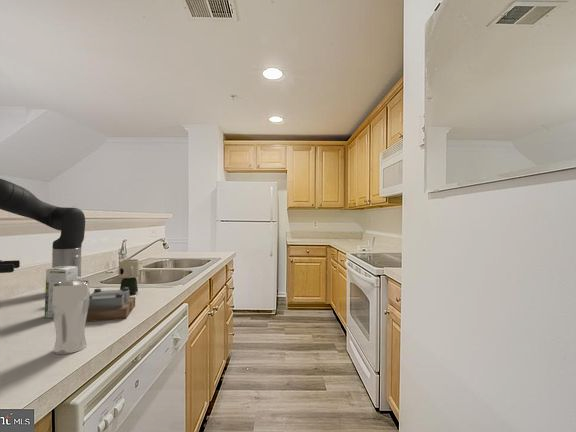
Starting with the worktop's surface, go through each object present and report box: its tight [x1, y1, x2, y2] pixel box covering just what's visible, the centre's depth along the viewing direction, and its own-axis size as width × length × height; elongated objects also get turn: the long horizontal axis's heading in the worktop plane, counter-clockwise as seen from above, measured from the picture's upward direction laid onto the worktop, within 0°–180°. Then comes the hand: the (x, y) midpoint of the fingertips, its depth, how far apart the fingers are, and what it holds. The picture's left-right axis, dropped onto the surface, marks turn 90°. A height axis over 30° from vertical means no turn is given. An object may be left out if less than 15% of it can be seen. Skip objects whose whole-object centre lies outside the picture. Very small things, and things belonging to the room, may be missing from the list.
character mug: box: [118, 258, 140, 296], centre depth 115 cm, size 11×7×13 cm, turn 36°
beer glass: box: [52, 279, 91, 355], centre depth 68 cm, size 7×7×15 cm
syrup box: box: [44, 266, 78, 319], centre depth 90 cm, size 6×6×14 cm
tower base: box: [86, 287, 136, 323], centre depth 92 cm, size 13×13×7 cm
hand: (16, 266), depth 84 cm, fingers open, 8 cm apart
